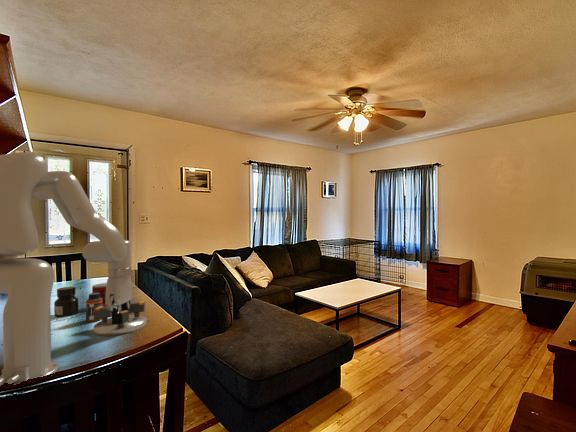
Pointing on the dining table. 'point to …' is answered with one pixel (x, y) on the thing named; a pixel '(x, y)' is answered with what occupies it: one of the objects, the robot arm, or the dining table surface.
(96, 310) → the orange-tipped grey bar
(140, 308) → the grey and orange block
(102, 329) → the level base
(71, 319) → the dining table surface
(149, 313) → the dining table surface
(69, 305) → the ink bottle
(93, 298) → the supplement bottle
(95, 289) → the canned food
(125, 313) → the grey chuck jaw
